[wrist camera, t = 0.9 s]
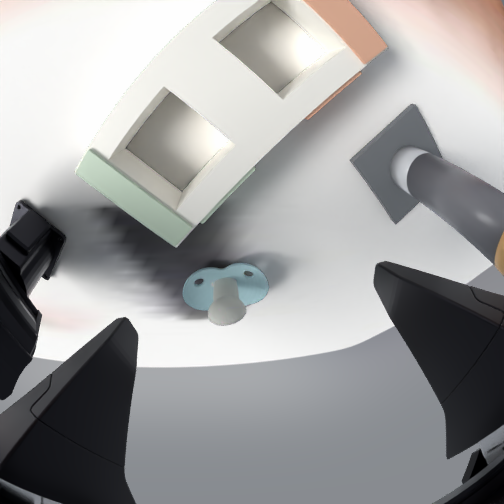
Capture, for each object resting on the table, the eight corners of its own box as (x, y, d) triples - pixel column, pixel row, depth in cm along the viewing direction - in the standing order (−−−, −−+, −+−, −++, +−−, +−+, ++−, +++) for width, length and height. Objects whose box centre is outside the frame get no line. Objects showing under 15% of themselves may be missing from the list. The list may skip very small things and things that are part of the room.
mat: (392, 221, 23) (395, 224, 23) (349, 160, 20) (352, 162, 19) (444, 170, 21) (448, 172, 20) (411, 104, 17) (415, 104, 17)
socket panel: (184, 226, 21) (179, 252, 18) (94, 158, 17) (71, 173, 14) (365, 54, 15) (393, 51, 12) (280, -29, 11) (292, -50, 7)
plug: (402, 197, 21) (503, 288, 10) (381, 164, 19) (502, 250, 9) (430, 169, 20) (537, 244, 9) (412, 135, 18) (538, 200, 7)
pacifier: (268, 299, 27) (262, 250, 24) (279, 349, 22) (275, 302, 18) (196, 310, 27) (179, 264, 23) (195, 362, 22) (172, 318, 18)
